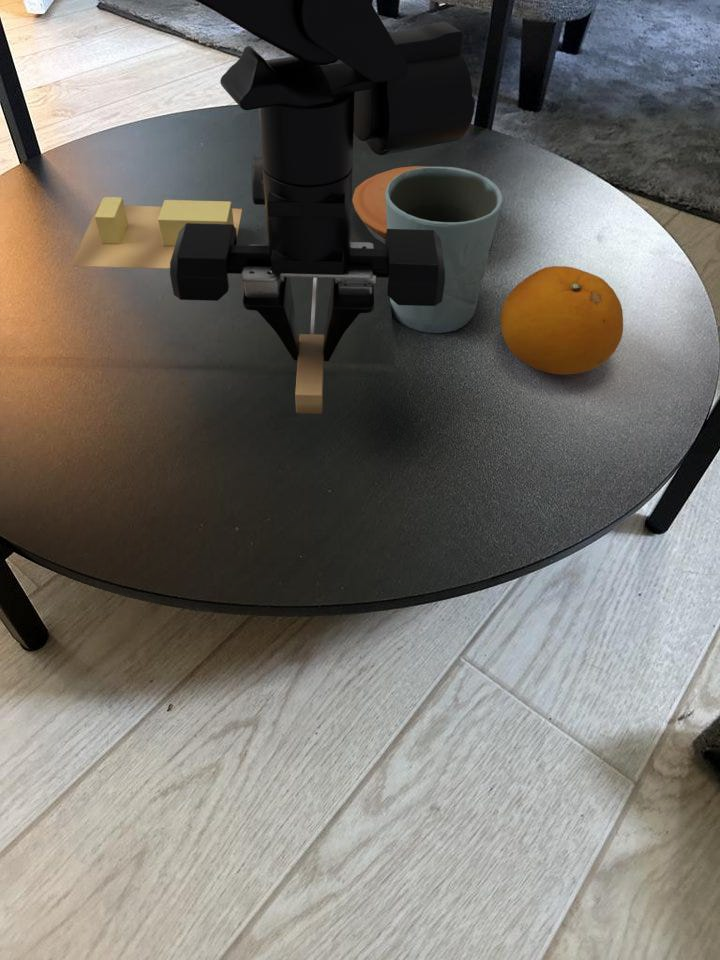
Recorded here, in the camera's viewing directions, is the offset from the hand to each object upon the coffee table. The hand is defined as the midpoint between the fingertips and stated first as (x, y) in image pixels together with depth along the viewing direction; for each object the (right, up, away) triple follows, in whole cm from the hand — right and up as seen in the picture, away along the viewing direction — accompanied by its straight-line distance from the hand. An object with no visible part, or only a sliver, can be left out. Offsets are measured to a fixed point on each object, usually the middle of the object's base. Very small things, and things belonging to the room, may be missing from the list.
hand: (311, 357), depth 58 cm
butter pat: (-22, +16, +19) cm, 34 cm away
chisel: (0, +2, +3) cm, 3 cm away
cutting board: (-17, +15, +20) cm, 31 cm away
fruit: (+22, +2, +10) cm, 24 cm away
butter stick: (-13, +16, +19) cm, 29 cm away
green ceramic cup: (+11, +7, +15) cm, 20 cm away
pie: (+11, +18, +24) cm, 32 cm away
